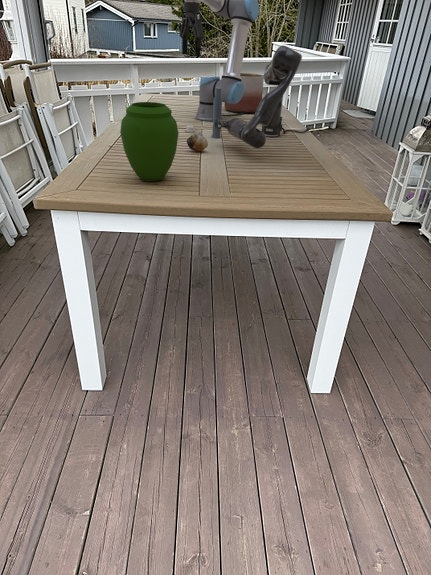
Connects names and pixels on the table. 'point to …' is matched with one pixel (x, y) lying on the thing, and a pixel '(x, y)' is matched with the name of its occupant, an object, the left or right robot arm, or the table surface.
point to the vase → (149, 139)
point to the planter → (248, 94)
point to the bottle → (217, 112)
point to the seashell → (197, 142)
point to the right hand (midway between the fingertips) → (225, 121)
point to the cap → (190, 128)
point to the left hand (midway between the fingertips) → (191, 55)
